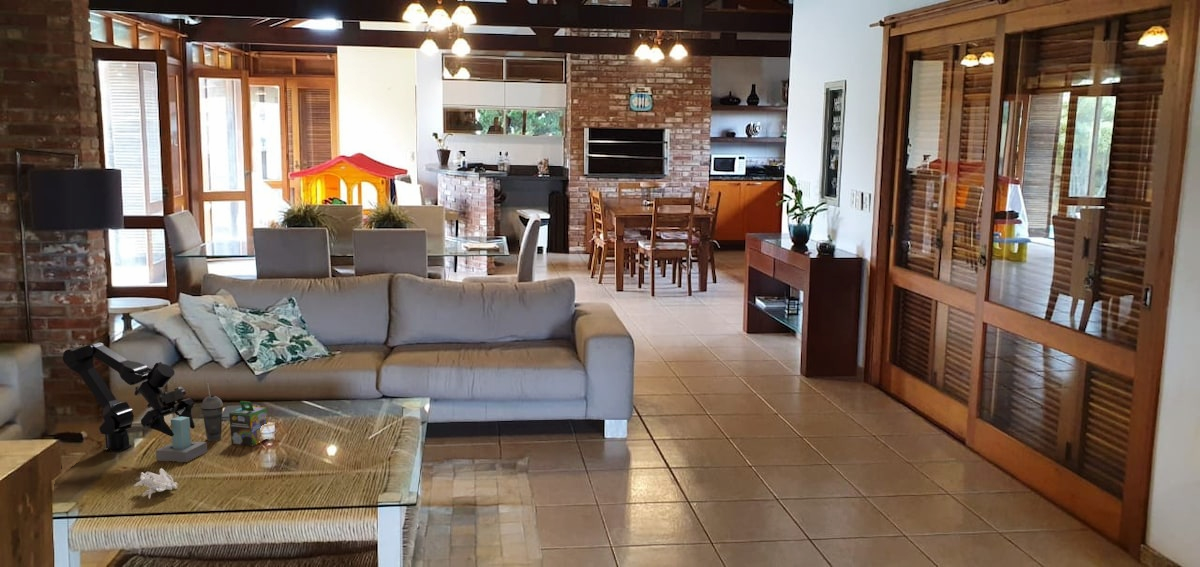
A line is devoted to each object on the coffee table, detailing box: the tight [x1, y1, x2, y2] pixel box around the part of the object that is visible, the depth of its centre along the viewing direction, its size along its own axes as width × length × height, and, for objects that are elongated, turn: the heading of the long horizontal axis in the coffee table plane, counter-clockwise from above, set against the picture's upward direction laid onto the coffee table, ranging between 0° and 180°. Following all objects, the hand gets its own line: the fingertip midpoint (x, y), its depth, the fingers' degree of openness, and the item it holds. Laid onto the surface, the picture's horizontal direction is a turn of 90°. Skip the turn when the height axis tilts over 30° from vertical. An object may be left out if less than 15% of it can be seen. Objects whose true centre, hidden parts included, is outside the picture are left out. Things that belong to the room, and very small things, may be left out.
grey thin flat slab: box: [222, 403, 261, 420], centre depth 364 cm, size 20×2×15 cm
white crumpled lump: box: [133, 468, 179, 500], centre depth 278 cm, size 12×7×12 cm
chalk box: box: [229, 400, 269, 447], centre depth 327 cm, size 9×9×15 cm
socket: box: [155, 440, 208, 463], centre depth 312 cm, size 11×11×4 cm
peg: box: [170, 416, 192, 449], centre depth 311 cm, size 4×4×13 cm
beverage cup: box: [200, 383, 224, 442], centre depth 329 cm, size 7×7×20 cm
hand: (183, 431), depth 311 cm, fingers open, 9 cm apart
